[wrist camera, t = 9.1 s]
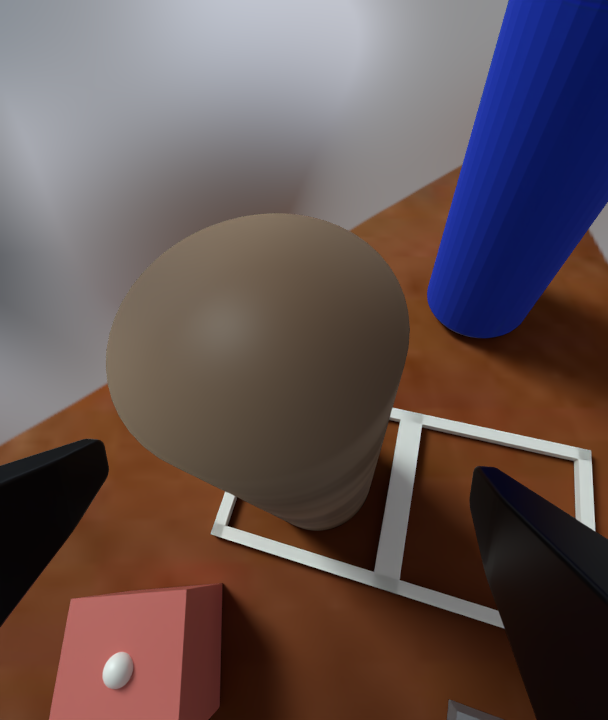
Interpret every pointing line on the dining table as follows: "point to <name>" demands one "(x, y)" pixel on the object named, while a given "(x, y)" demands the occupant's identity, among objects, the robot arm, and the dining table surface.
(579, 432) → the dining table surface
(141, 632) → the red die
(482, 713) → the dome base
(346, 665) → the dining table surface
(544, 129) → the beverage can
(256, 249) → the brown lumpy cylinder
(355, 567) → the white rectangular frame
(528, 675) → the robot arm
